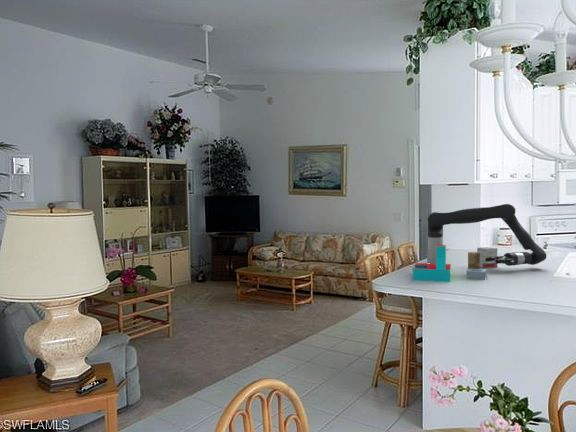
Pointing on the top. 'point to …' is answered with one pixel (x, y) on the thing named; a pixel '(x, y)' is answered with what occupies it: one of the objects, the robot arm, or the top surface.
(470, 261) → the pillar
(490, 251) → the ink box
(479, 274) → the plinth
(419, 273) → the building blocks toy
